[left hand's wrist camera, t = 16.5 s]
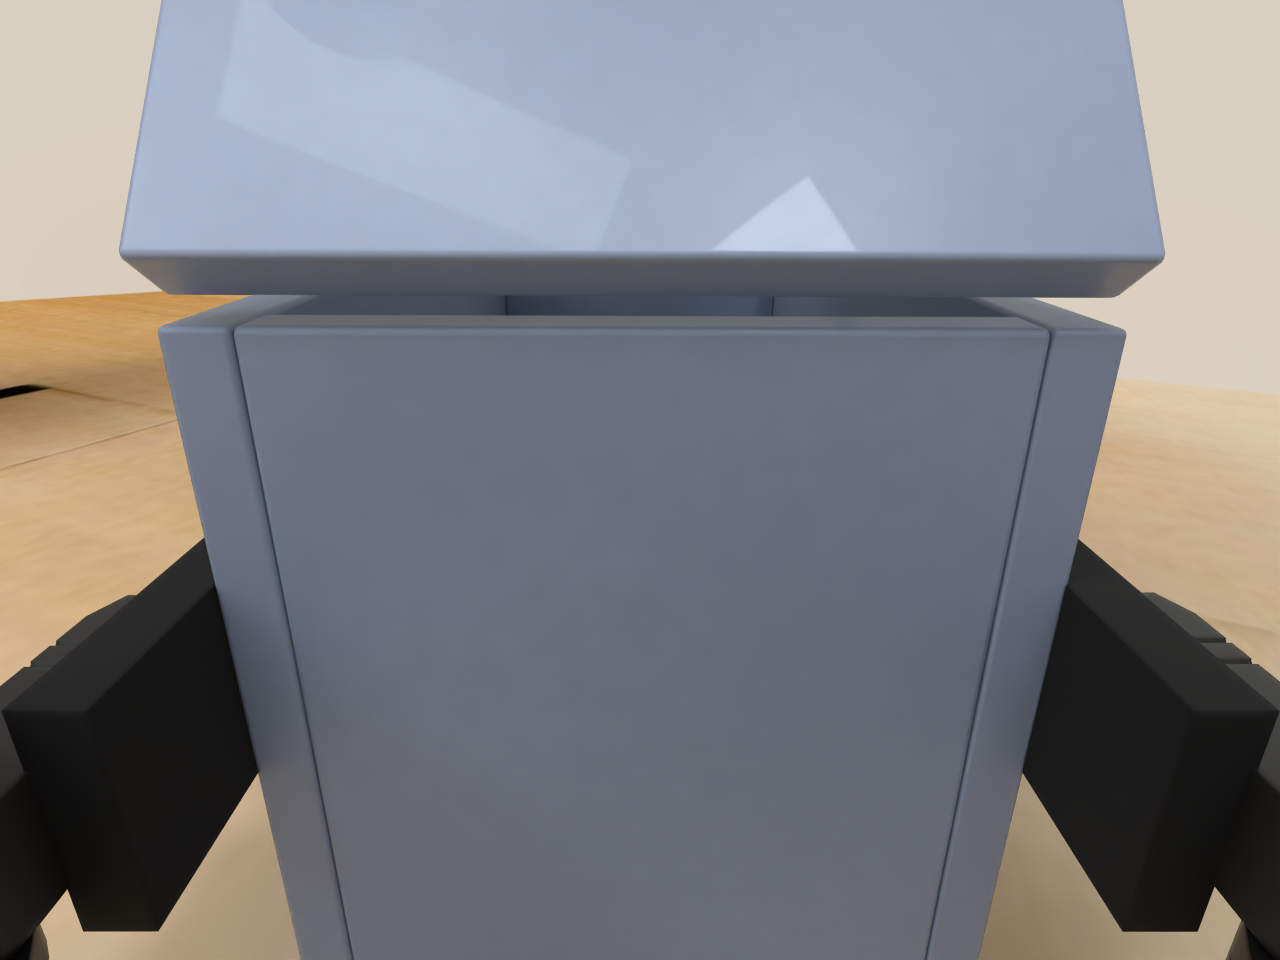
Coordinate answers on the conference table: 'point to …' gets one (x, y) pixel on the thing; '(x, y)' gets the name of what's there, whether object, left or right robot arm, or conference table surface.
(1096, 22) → the lid
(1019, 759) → the chest
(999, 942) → the conference table surface
